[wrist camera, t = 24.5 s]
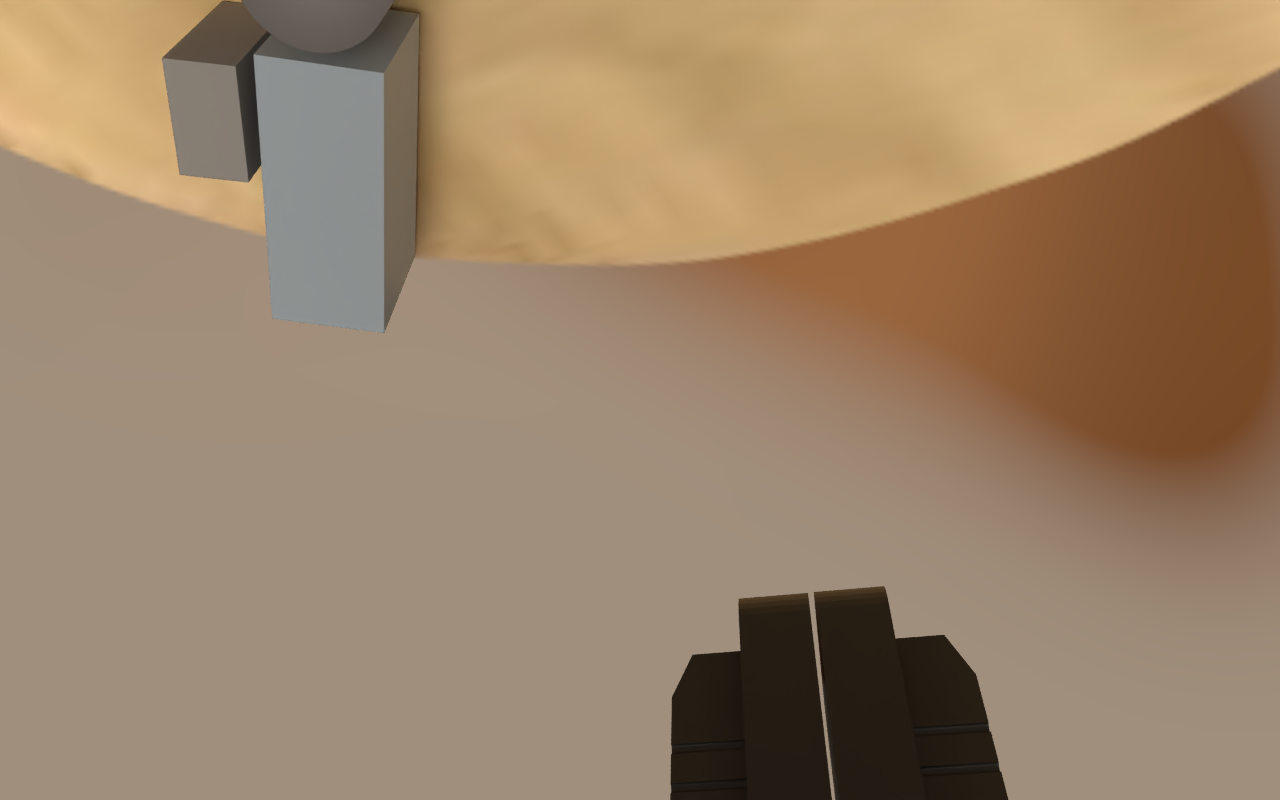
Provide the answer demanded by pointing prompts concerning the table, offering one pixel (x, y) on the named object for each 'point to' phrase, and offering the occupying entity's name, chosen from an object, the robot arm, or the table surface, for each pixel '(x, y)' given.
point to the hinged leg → (337, 156)
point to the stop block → (216, 95)
